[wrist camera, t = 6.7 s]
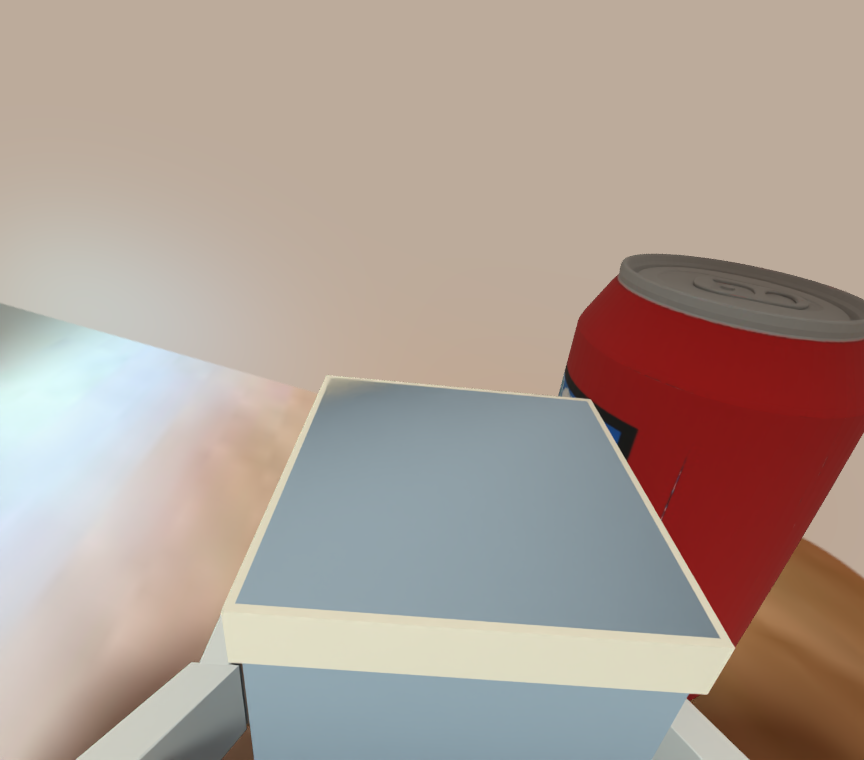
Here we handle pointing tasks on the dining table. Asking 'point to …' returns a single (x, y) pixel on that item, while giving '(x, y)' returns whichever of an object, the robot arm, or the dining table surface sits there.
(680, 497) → the beverage can
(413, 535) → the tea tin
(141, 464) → the dining table surface
